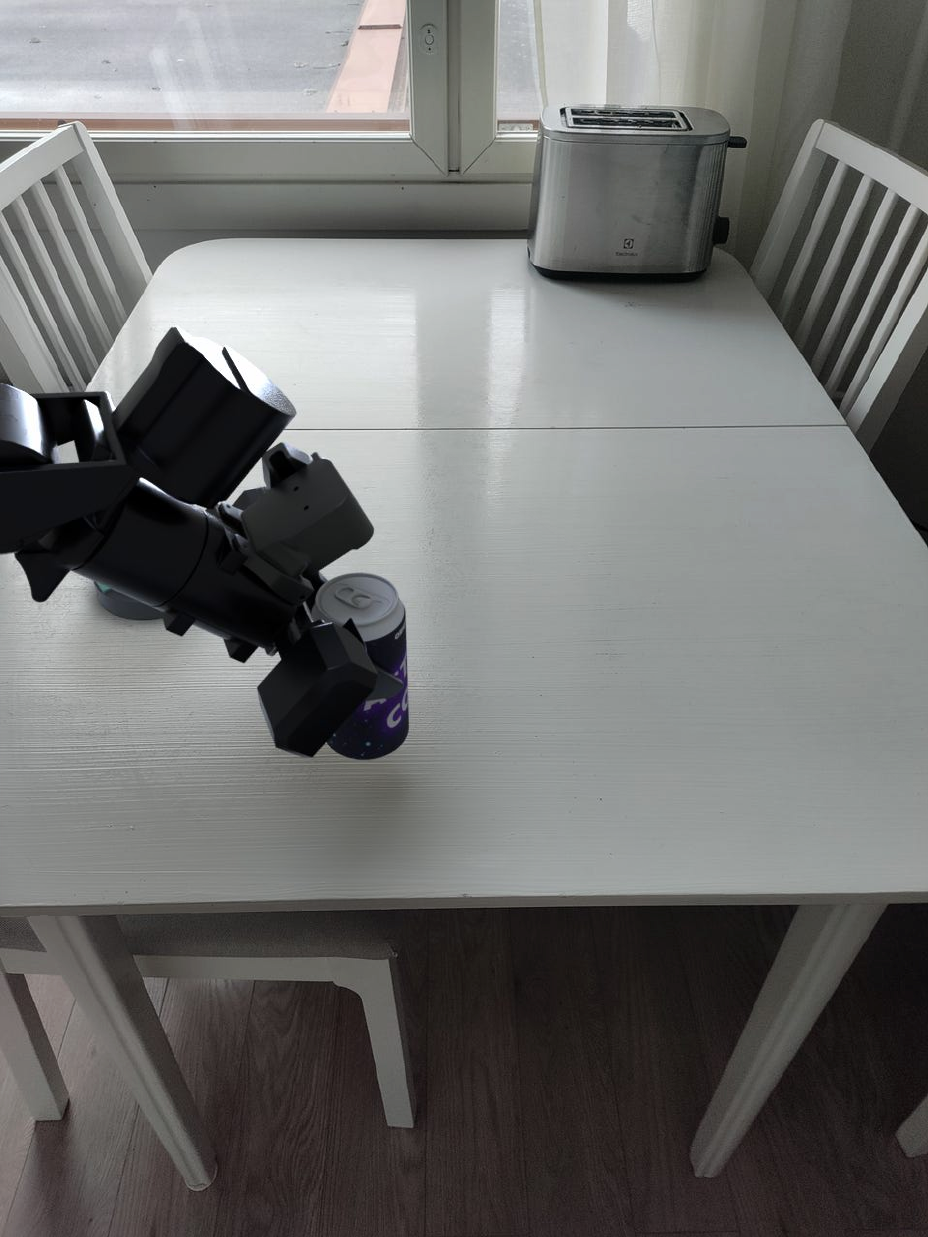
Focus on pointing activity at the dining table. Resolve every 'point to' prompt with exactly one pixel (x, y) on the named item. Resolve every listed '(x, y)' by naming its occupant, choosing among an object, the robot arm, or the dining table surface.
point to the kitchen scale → (125, 604)
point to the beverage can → (384, 635)
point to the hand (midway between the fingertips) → (382, 659)
